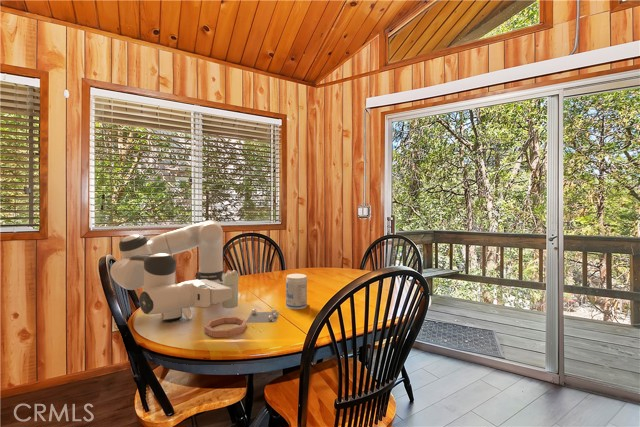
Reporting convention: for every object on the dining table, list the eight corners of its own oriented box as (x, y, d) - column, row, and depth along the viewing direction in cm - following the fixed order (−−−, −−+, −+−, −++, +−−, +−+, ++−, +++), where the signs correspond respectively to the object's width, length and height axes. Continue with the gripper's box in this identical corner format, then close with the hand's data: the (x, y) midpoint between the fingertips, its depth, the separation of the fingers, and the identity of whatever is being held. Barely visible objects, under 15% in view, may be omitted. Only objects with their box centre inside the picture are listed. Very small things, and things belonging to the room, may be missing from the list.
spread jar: (159, 317, 133) (159, 289, 133) (188, 312, 140) (188, 285, 139) (164, 326, 123) (163, 296, 123) (194, 320, 130) (194, 292, 129)
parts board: (245, 324, 125) (245, 317, 125) (251, 314, 137) (251, 307, 137) (276, 324, 126) (276, 316, 126) (279, 313, 138) (279, 306, 138)
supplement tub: (281, 308, 145) (281, 275, 145) (296, 303, 153) (296, 272, 152) (296, 312, 139) (296, 279, 139) (311, 307, 146) (311, 275, 146)
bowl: (200, 339, 112) (200, 331, 112) (212, 323, 126) (212, 316, 126) (241, 338, 112) (240, 330, 112) (249, 323, 127) (248, 316, 126)
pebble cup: (221, 308, 118) (221, 272, 117) (224, 302, 123) (225, 268, 122) (236, 308, 118) (236, 272, 117) (239, 303, 123) (240, 269, 123)
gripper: (181, 295, 117) (216, 288, 127) (208, 308, 103) (244, 299, 113) (181, 278, 117) (216, 273, 127) (208, 289, 103) (244, 281, 113)
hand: (229, 285), depth 120 cm, fingers closed on pebble cup, 5 cm apart
